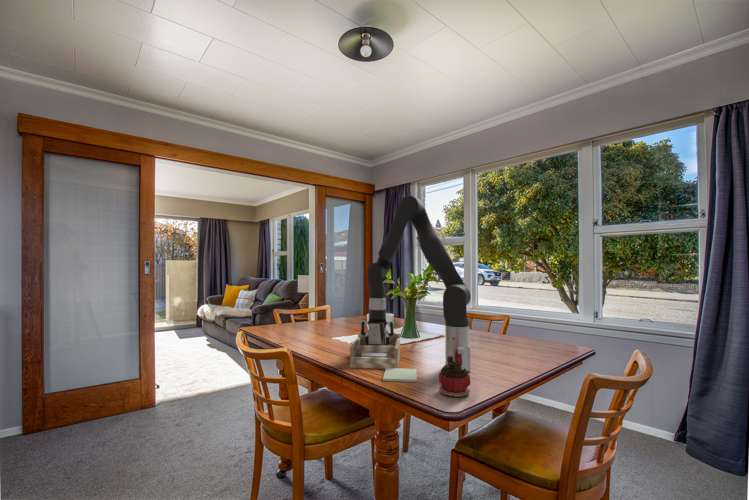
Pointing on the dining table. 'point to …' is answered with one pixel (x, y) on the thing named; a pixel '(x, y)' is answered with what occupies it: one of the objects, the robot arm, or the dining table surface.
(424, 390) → the dining table surface
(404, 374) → the mat
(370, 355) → the offcut upper
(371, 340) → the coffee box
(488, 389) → the dining table surface
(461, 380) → the red potted plant
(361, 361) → the crate
